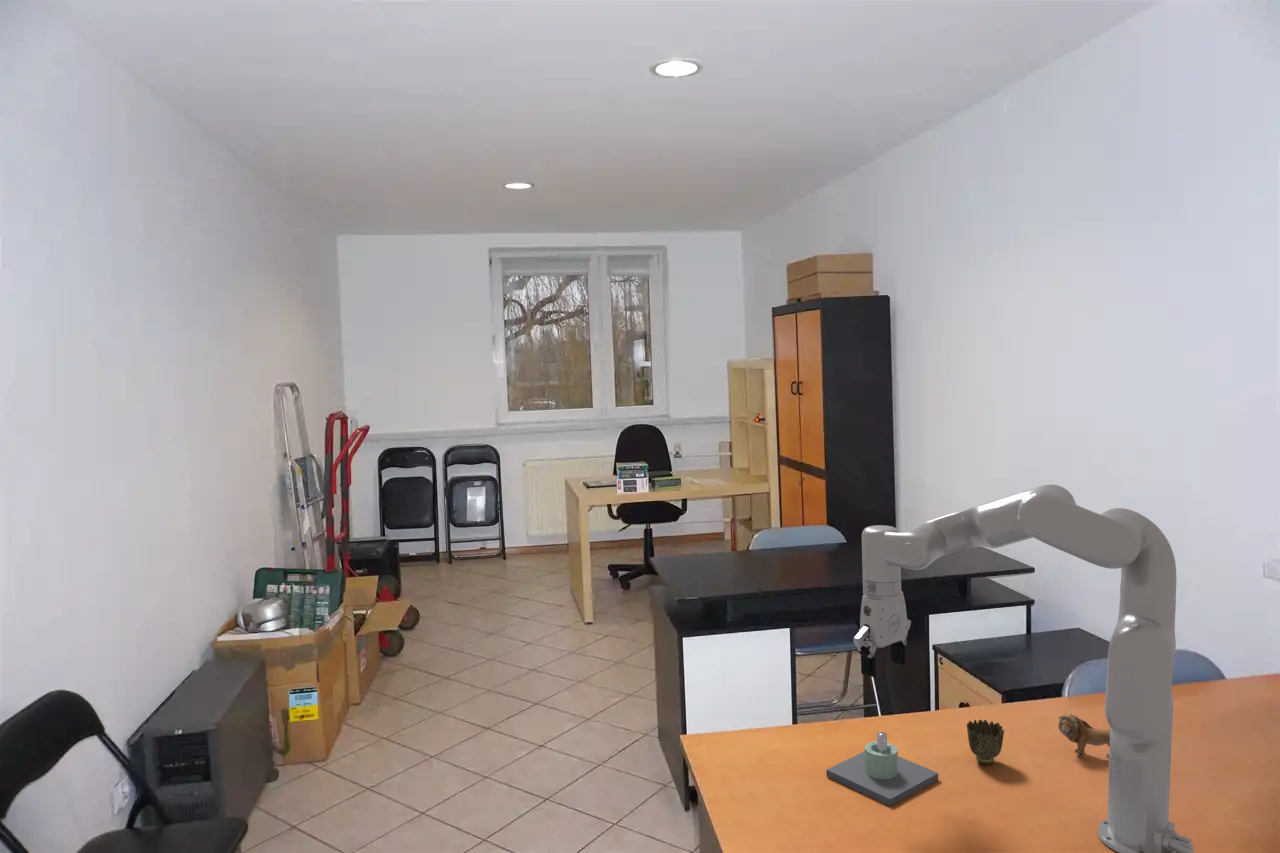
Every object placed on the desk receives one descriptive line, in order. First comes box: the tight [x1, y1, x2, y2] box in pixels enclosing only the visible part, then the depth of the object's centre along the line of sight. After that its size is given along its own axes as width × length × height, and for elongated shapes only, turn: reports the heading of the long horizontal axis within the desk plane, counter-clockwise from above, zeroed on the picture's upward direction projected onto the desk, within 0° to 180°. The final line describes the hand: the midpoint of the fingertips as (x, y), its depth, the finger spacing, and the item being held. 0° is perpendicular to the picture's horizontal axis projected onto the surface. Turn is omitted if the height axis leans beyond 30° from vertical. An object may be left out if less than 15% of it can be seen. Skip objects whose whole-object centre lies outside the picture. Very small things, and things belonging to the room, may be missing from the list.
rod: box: [876, 731, 888, 753], centre depth 186 cm, size 2×2×8 cm
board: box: [825, 750, 939, 807], centre depth 186 cm, size 16×16×2 cm
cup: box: [966, 719, 1005, 766], centre depth 192 cm, size 8×7×8 cm
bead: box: [864, 741, 899, 779], centre depth 186 cm, size 6×6×5 cm
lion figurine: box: [1057, 713, 1110, 759], centre depth 192 cm, size 15×5×9 cm, turn 68°
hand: (883, 668), depth 184 cm, fingers open, 9 cm apart
